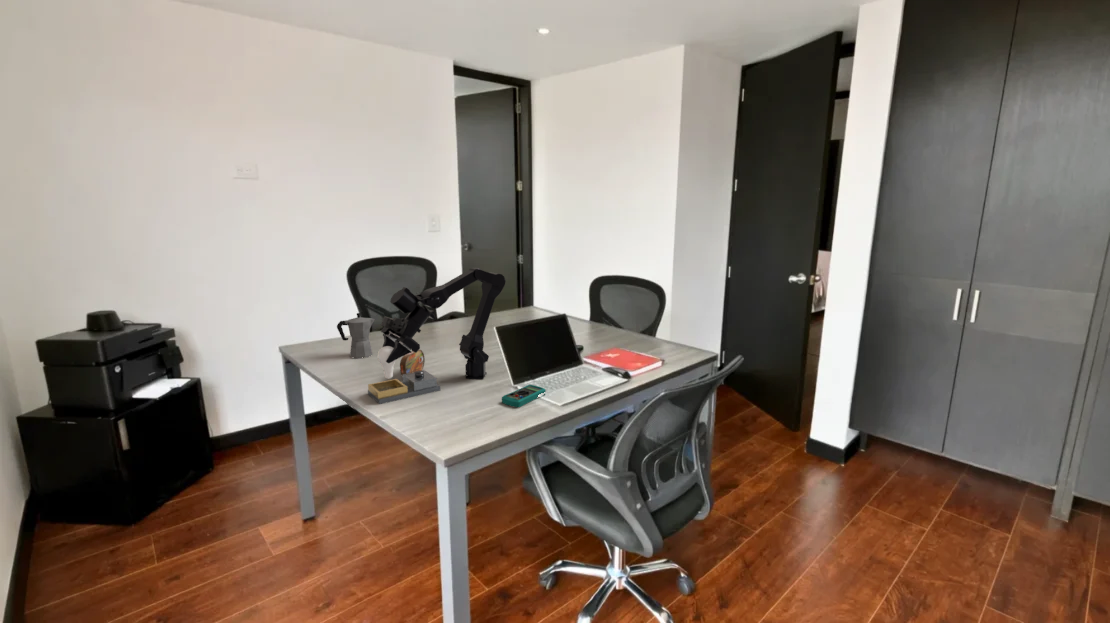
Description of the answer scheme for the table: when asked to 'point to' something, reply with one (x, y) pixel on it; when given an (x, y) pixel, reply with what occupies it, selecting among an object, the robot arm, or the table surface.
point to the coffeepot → (358, 335)
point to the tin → (412, 362)
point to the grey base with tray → (403, 387)
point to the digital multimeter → (522, 395)
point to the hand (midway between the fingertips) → (383, 360)
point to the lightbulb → (382, 358)
